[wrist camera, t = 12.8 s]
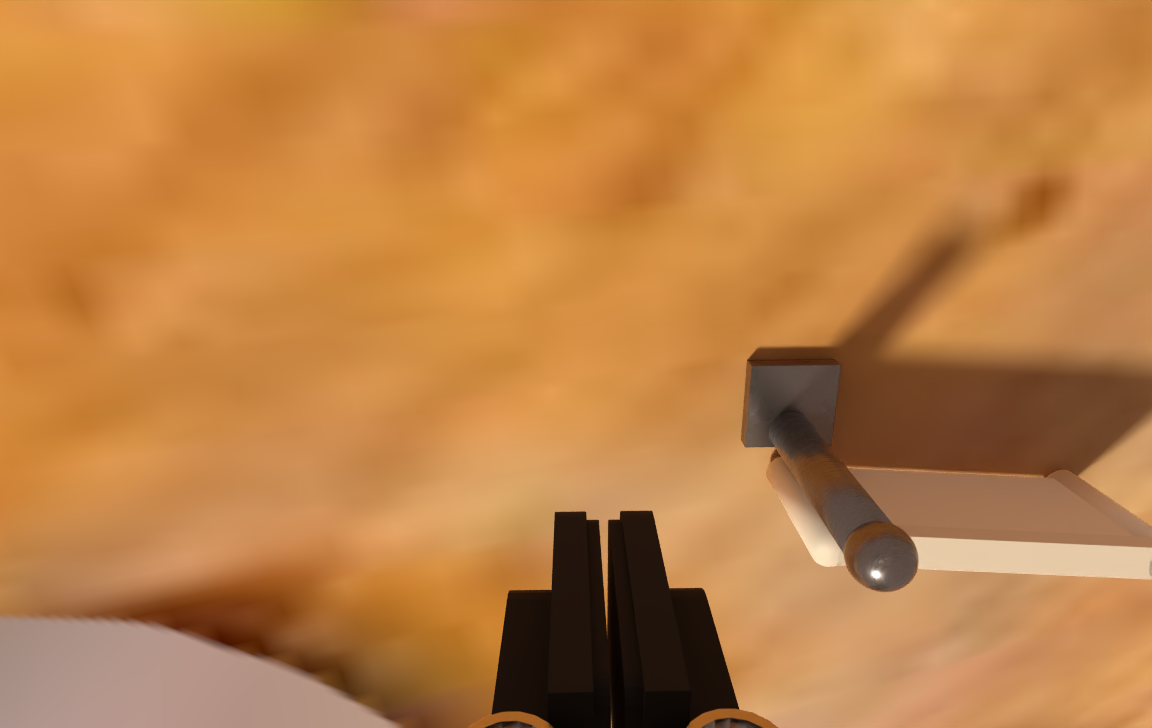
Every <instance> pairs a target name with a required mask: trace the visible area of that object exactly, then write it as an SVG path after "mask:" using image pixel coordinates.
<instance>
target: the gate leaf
mask: <svg viewBox="0 0 1152 728" xmlns="http://www.w3.org/2000/svg"><path fill="white" fill-rule="evenodd" d="M848 470H849V471H850V472H851V473H852V474H853V476H854V477H855V478H856V479H857V481H858V482H859V483H860V484H861V485H862V487H863V488H864V489H865V490H866V492H867V493H868V494H869V495H870V496H871V498H872V499H873V500H874V501H875V503H876V504H877V505H878V506H879V508H880V509H881V510H882V511H883V512H884V514H885V515H886V516H887V517H888V519H889V520H890V521H891V522H892V523H893V524H894V525H896V526H898V527H899V528H901V529H902V530H904V531H905V532H906V533H907V534H908V535H909V536H910V537H911V539H912V540H913V542H914V544H915V546H916V548H917V552H918V557H919V563H918V569H930V570H953V571H975V572H998V573H1020V574H1042V575H1065V576H1087V577H1110V578H1132V579H1152V527H1151V526H1150V525H1148V524H1147V523H1145V522H1144V521H1143V520H1141V519H1140V518H1138V517H1137V516H1135V515H1134V514H1132V513H1131V512H1129V511H1128V510H1126V509H1125V508H1124V507H1122V506H1121V505H1119V504H1118V503H1116V502H1115V501H1113V500H1112V499H1110V498H1109V497H1107V496H1106V495H1104V494H1103V493H1102V492H1100V491H1099V490H1097V489H1096V488H1094V487H1093V486H1091V485H1090V484H1088V483H1087V482H1085V481H1084V480H1083V479H1081V478H1080V477H1078V476H1077V475H1075V474H1074V473H1072V472H1071V471H1068V470H1057V471H1055V472H1053V473H1051V474H1050V475H1049V476H1048V477H1047V478H1039V477H1018V476H997V475H977V474H956V473H935V472H915V471H894V470H873V469H853V468H848ZM766 473H767V478H768V480H769V481H770V483H771V485H772V487H773V488H774V490H775V492H776V494H777V495H778V497H779V499H780V501H781V502H782V504H783V506H784V508H785V510H786V511H787V513H788V515H789V517H790V518H791V520H792V522H793V524H794V525H795V527H796V529H797V531H798V533H799V534H800V536H801V538H802V540H803V541H804V543H805V545H806V547H807V548H808V550H809V552H810V554H811V556H812V557H813V559H814V560H815V561H816V562H817V563H818V564H820V565H822V566H826V567H832V566H837V565H841V566H846V564H845V560H844V554H843V552H842V551H841V549H840V547H839V546H838V544H837V543H836V541H835V540H834V538H833V537H832V535H831V534H830V532H829V530H828V529H827V527H826V526H825V524H824V523H823V521H822V520H821V518H820V516H819V515H818V513H817V512H816V510H815V509H814V507H813V506H812V504H811V502H810V501H809V499H808V498H807V496H806V495H805V493H804V492H803V490H802V488H801V487H800V485H799V484H798V482H797V481H796V479H795V478H794V476H793V474H792V473H791V471H790V470H789V468H788V467H787V465H786V464H785V462H784V460H783V459H782V457H778V458H776V459H774V460H773V461H772V462H771V463H770V464H769V465H768V468H767V472H766Z"/></svg>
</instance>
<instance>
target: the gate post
mask: <svg viewBox="0 0 1152 728" xmlns="http://www.w3.org/2000/svg"><path fill="white" fill-rule="evenodd" d="M840 369H841V365H840V364H839V363H838V362H837V361H836V360H834V359H833V360H747V369H746V383H745V396H744V409H743V422H742V435H741V441H742V442H743V444H744V446H745V447H775V448H776V450H777V451H778V453H779V454H780V456H781V457H782V459H783V460H784V462H785V464H786V465H787V467H788V468H789V470H790V471H791V473H792V474H793V476H794V478H795V479H796V481H797V482H798V484H799V485H800V487H801V488H802V490H803V492H804V493H805V495H806V496H807V498H808V499H809V501H810V502H811V504H812V506H813V507H814V509H815V510H816V512H817V513H818V515H819V516H820V518H821V520H822V521H823V523H824V524H825V526H826V527H827V529H828V530H829V532H830V534H831V535H832V537H833V538H834V540H835V541H836V543H837V544H838V546H839V547H840V549H841V551H842V552H843V554H844V560H845V564H846V566H847V569H848V571H849V572H850V574H851V575H852V576H853V577H854V579H855V580H856V581H858V582H859V583H860V584H862V585H863V586H865V587H866V588H869V589H871V590H874V591H879V592H891V591H896V590H899V589H901V588H903V587H905V586H906V585H907V584H909V583H910V581H911V580H912V579H913V578H914V576H915V574H916V572H917V569H918V563H919V557H918V552H917V548H916V546H915V544H914V542H913V540H912V539H911V537H910V536H909V535H908V534H907V533H906V532H905V531H904V530H902V529H901V528H899V527H898V526H896V525H894V524H893V523H892V522H891V521H890V520H889V519H888V517H887V516H886V515H885V514H884V512H883V511H882V510H881V509H880V508H879V506H878V505H877V504H876V503H875V501H874V500H873V499H872V498H871V496H870V495H869V494H868V493H867V492H866V490H865V489H864V488H863V487H862V485H861V484H860V483H859V482H858V481H857V479H856V478H855V477H854V476H853V474H852V473H851V472H850V471H849V470H848V468H847V467H846V466H845V465H844V463H843V462H842V461H841V460H840V459H839V457H838V456H837V455H836V454H835V452H834V451H833V450H832V449H831V448H830V446H831V442H832V434H833V426H834V417H835V409H836V401H837V393H838V385H839V377H840Z"/></svg>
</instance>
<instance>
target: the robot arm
mask: <svg viewBox="0 0 1152 728" xmlns="http://www.w3.org/2000/svg"><path fill="white" fill-rule="evenodd" d="M611 719H612V728H778V727H776V726H775V725H774V724H773V723H772V722H770V721H769V720H767V719H765V718H763V717H760V716H758V715H756V714H754V713H752V712H747V711H743V710H739V707H738V703H737V700H736V696H735V693H734V689H733V686H732V683H731V679H730V676H729V672H728V669H727V665H726V662H725V659H724V655H723V652H722V648H721V645H720V641H719V638H718V634H717V631H716V628H715V624H714V621H713V617H712V614H711V610H710V607H709V604H708V600H707V597H706V594H705V591H704V590H703V589H702V588H669V585H668V581H667V576H666V571H665V567H664V562H663V558H662V553H661V548H660V544H659V539H658V534H657V530H656V525H655V520H654V516H653V512H652V511H621V512H620V520H608V623H607V628H606V615H605V601H604V587H603V573H602V559H601V545H600V531H599V520H586V512H555V522H554V546H553V570H552V590H511V591H509V593H508V598H507V605H506V612H505V619H504V627H503V634H502V642H501V649H500V656H499V664H498V671H497V679H496V686H495V694H494V701H493V708H492V715H489V716H486V717H484V718H482V719H480V720H479V721H477V722H475V723H473V724H471V725H470V726H469V727H468V728H611Z"/></svg>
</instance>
